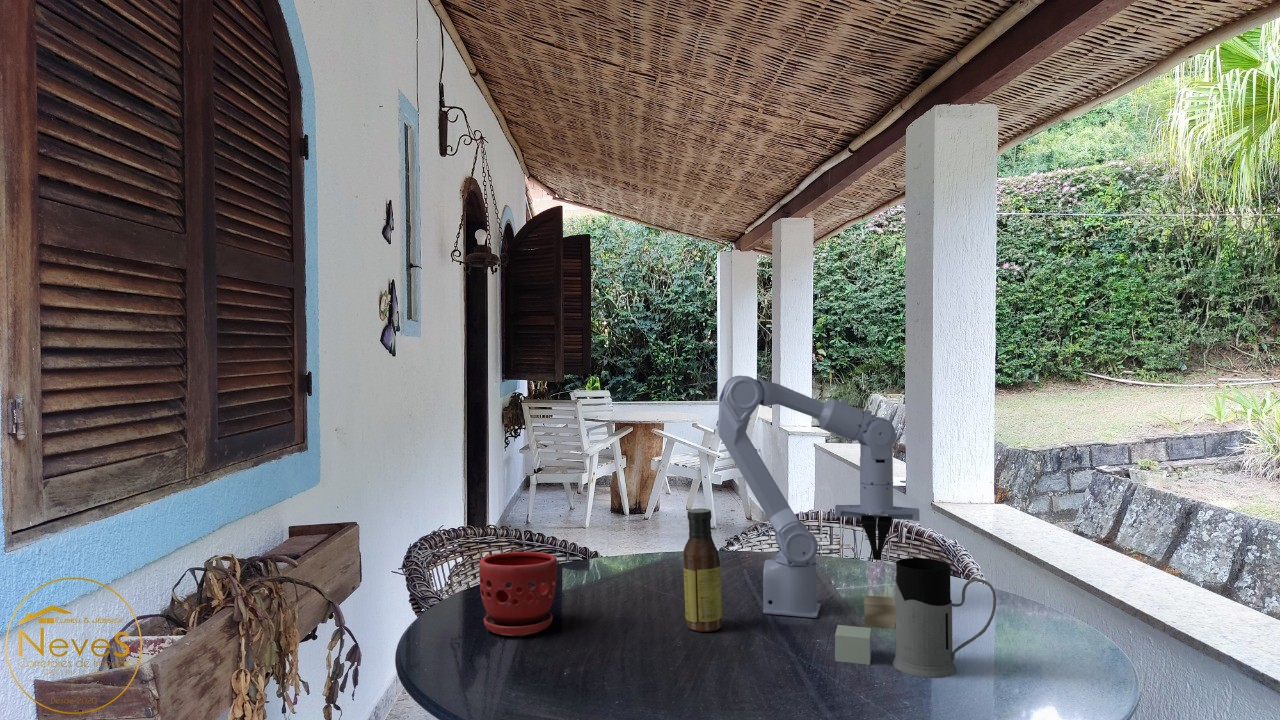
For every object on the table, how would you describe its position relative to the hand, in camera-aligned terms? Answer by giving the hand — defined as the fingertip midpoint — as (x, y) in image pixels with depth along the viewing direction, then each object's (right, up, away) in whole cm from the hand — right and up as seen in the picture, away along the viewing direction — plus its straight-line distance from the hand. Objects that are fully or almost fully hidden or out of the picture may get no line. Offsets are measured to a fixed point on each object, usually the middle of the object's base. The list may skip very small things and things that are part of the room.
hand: (877, 558), depth 144 cm
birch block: (-2, -10, -7) cm, 12 cm away
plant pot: (-63, -10, -8) cm, 65 cm away
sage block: (-10, -9, -23) cm, 27 cm away
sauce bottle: (-32, -10, -9) cm, 35 cm away
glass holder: (+1, -9, -28) cm, 30 cm away
